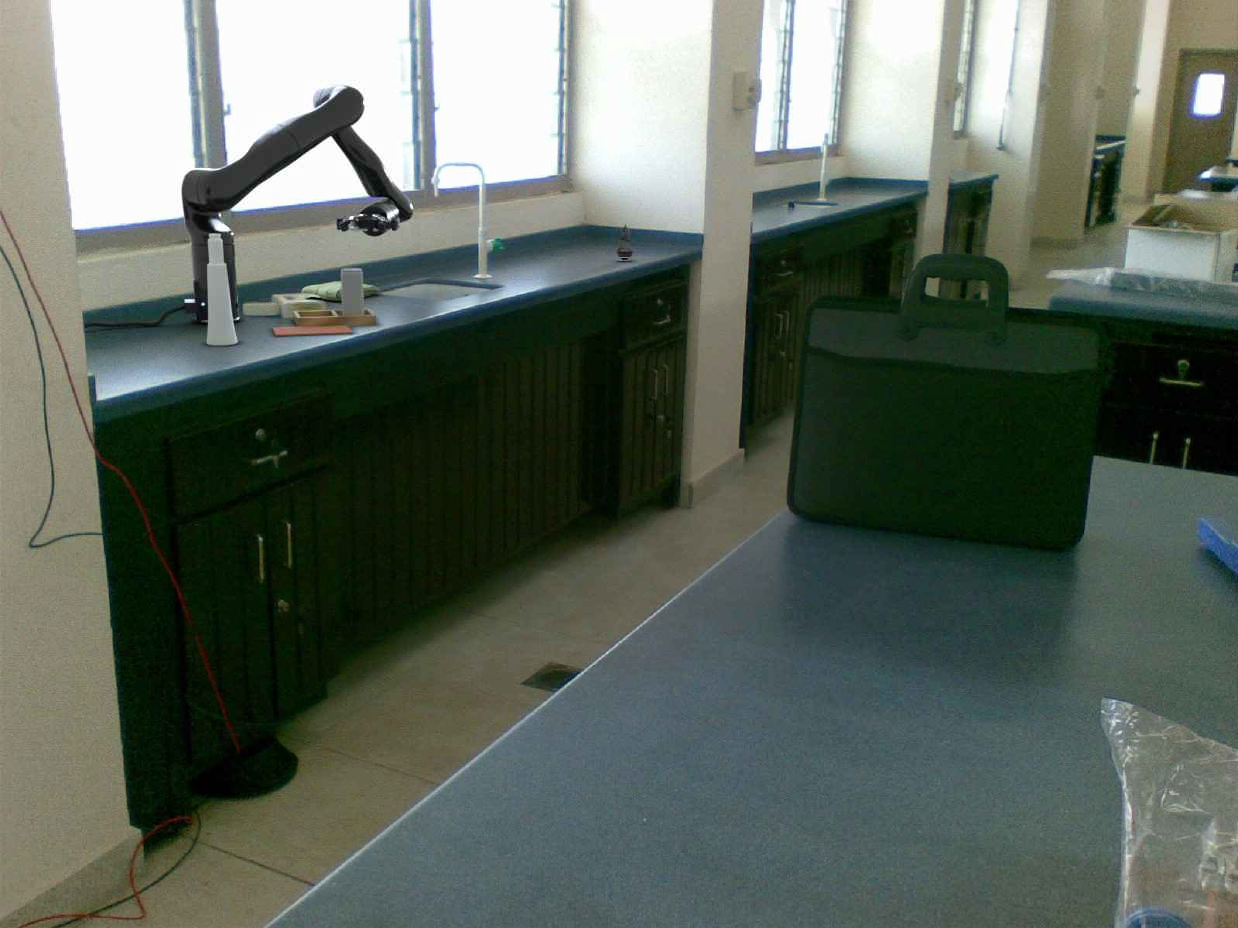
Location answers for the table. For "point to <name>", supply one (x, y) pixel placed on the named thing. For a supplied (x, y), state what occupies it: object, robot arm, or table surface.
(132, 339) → the table surface
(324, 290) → the washcloth
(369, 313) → the wooden compartment tray
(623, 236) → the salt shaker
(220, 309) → the cosmetic bottle
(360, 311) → the grey rectangular block
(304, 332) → the mat
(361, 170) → the robot arm
